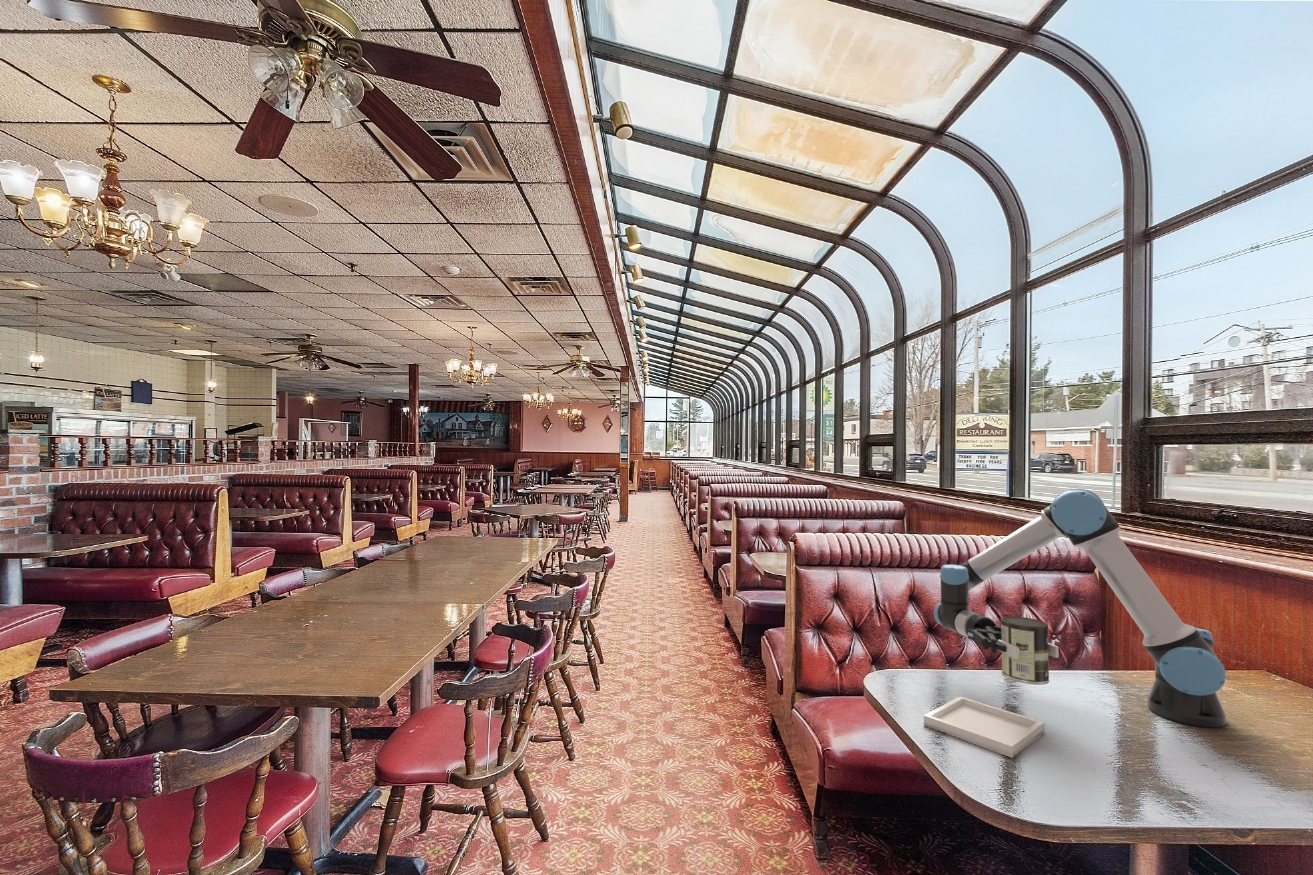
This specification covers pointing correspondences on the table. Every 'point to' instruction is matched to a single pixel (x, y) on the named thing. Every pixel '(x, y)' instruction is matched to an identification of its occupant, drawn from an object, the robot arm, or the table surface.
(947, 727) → the serving tray
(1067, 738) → the table surface
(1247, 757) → the table surface
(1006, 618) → the coffee can
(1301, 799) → the table surface
